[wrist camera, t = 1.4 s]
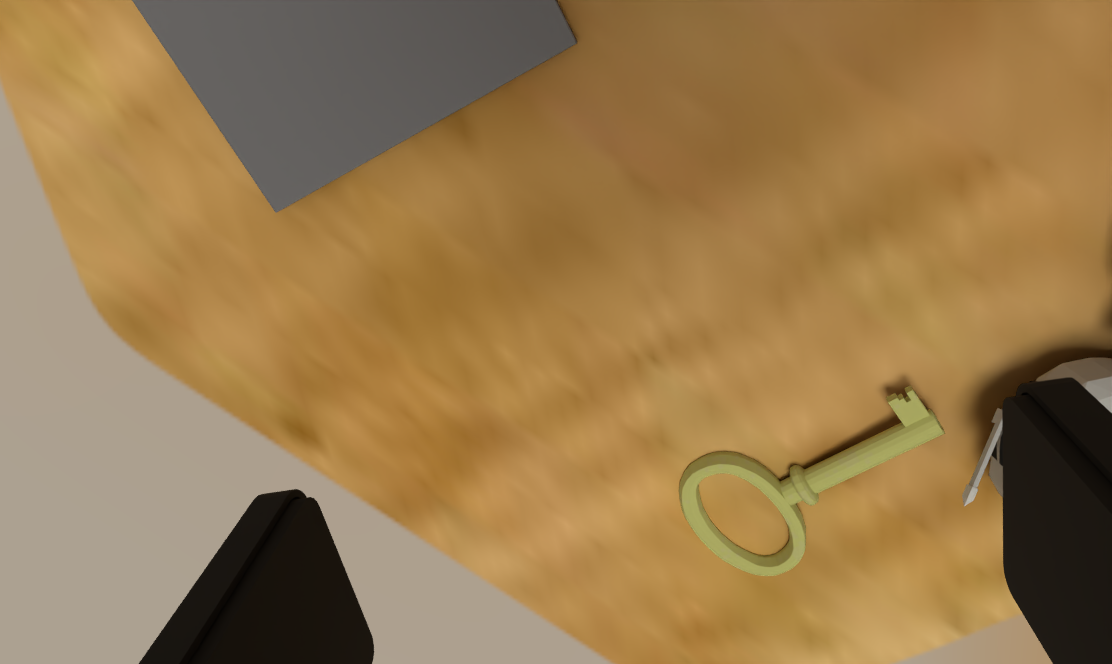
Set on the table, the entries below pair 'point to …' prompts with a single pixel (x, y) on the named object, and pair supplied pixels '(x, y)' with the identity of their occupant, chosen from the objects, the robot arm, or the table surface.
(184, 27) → the charcoal mat
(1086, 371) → the robot toy
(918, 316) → the table surface
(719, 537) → the key
